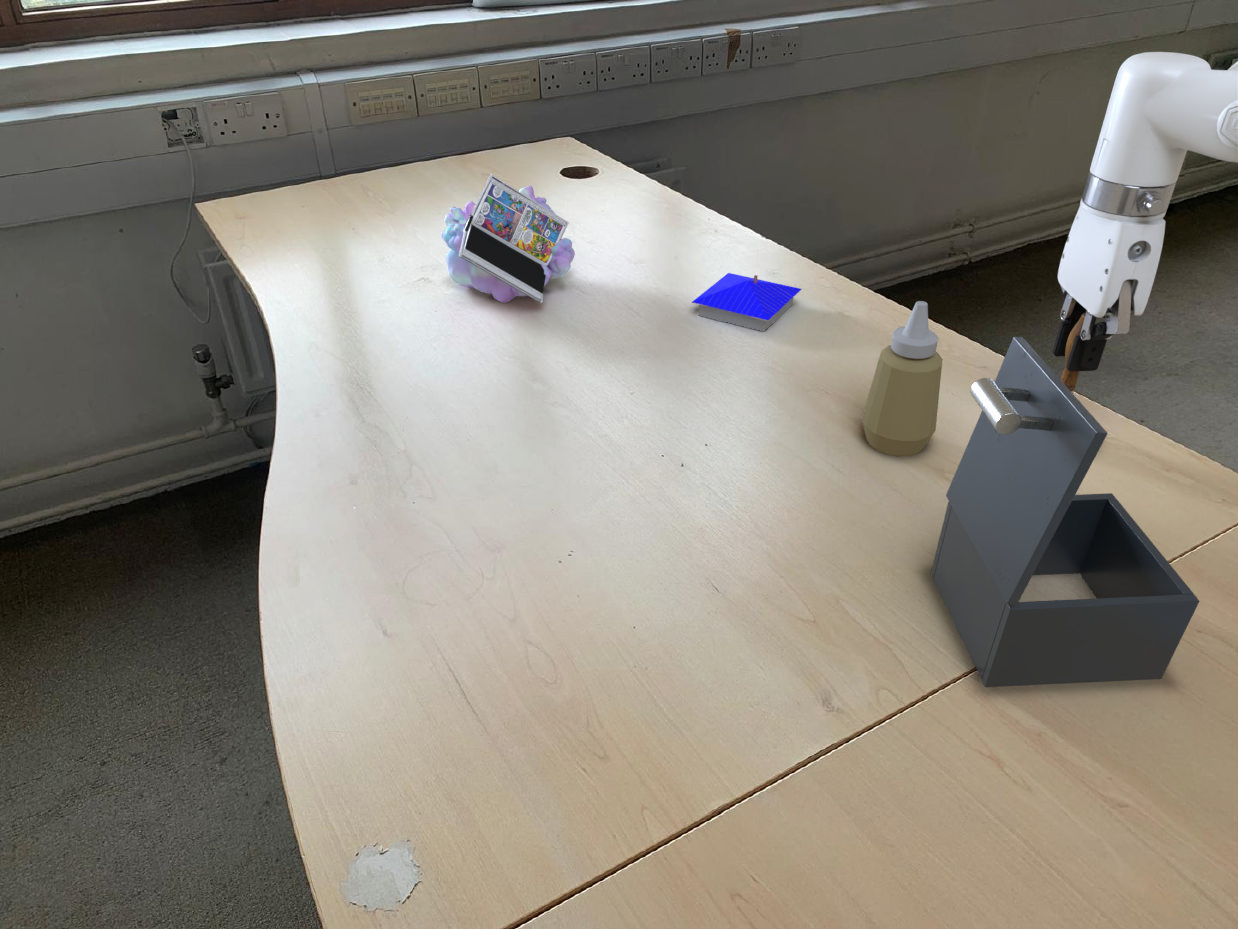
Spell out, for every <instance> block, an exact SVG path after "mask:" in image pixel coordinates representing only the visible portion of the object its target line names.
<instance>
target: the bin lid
mask: <svg viewBox="0 0 1238 929" xmlns="http://www.w3.org/2000/svg"><path fill="white" fill-rule="evenodd" d="M1006 351H1007V352H1006V353H1005V356H1004V358H1003V361H1002V363H1001V366H1000V368H999V370H998V372H997V375H996V377H995V379H994V380H993V379H991V378H989V377H982V378H979V379H977V380H975V381H974V382H973V384H972V385H971V387H970V395H971V396H972V398H973V399H974V400H975V402H976V403H977V405H978V406H979V408H980V409H981V412H980V414H979V417H978V419H977V421H976V424H975V426H974V428H973V431H972V434H971V435H970V438H969V440H968V442H967V445H966V447H965V449H964V452H963V454H962V457H961V459H960V461H959V464H958V466H957V468H956V471H955V473H954V475H953V477H952V479H951V483H950V485H949V487H948V489H947V491H946V494H945V497H946V498H947V500H948V502H950V504H951V505H952V507H953V509H954V511H955V512H956V514H957V516H958V518H959V520H960V521H961V523H962V525H963V527H964V528H965V530H966V532H967V534H968V536H969V537H970V539H971V541H972V543H973V544H974V546H975V548H976V550H977V552H978V553H979V555H980V557H981V559H982V560H983V562H984V564H985V566H986V567H987V569H988V571H989V573H990V575H991V576H992V578H993V580H994V582H995V583H996V585H997V587H998V589H999V591H1000V592H1001V594H1002V596H1003V598H1004V599H1005V601H1006V603H1007V604H1009V605H1017V603H1018V602H1020V600H1021V598H1022V596H1023V594H1024V593H1025V590H1026V588H1027V587H1028V585H1029V583H1030V581H1031V579H1032V578H1033V576H1034V575H1033V573H1034V571H1035V570H1036V568H1037V566H1038V564H1039V562H1040V560H1041V558H1042V556H1043V555H1044V553H1045V551H1046V549H1047V547H1048V545H1049V543H1050V541H1051V539H1052V538H1053V536H1054V534H1055V532H1056V530H1057V528H1058V526H1059V524H1060V523H1061V521H1062V519H1063V517H1064V515H1065V513H1066V511H1067V509H1068V507H1069V506H1070V504H1071V502H1072V500H1073V498H1074V496H1075V495H1077V492H1078V490H1079V489H1080V487H1081V485H1082V483H1083V482H1084V480H1085V477H1086V476H1087V474H1088V472H1089V470H1090V468H1091V466H1092V464H1093V462H1094V461H1095V459H1096V457H1097V455H1098V453H1099V451H1100V449H1101V447H1102V446H1103V443H1104V441H1105V440H1106V438H1107V436H1108V432H1107V431H1106V430H1105V428H1104V427H1103V426H1102V425H1101V424H1100V423H1099V421H1097V419H1096V418H1095V417H1094V416H1093V415H1092V414H1091V413H1090V411H1089V410H1088V409H1087V408H1086V407H1085V406H1084V405H1083V403H1082V402H1081V403H1082V404H1081V403H1080V401H1081V400H1080V399H1079V398H1078V397H1077V396H1076V395H1074V393H1073V394H1072V392H1071V391H1070V390H1069V389H1068V388H1067V387H1066V386H1065V385H1064V383H1063V382H1062V381H1061V380H1060V379H1061V378H1060V377H1059V376H1058V375H1057V374H1056V373H1055V372H1054V371H1053V370H1052V368H1050V366H1049V365H1048V364H1047V363H1046V362H1045V361H1044V360H1043V359H1042V357H1040V355H1039V354H1038V353H1037V352H1036V351H1035V349H1034V348H1033V347H1032V346H1031V345H1030V344H1029V343H1028V342H1027V340H1026V339H1025V338H1024V337H1021V336H1013V337H1012V340H1011V342H1010V345H1009V347H1008V349H1007V350H1006ZM1078 399H1079V400H1080V401H1079V400H1078Z"/></svg>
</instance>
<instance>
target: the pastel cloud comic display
mask: <svg viewBox="0 0 1238 929" xmlns="http://www.w3.org/2000/svg"><path fill="white" fill-rule="evenodd" d="M449 210H450V213H447V214H445V216H444V219H443V220H444V221H443V222H444V224H445V225H446V226H447V227H446V229H445V230H442V231H441V233H440V237H441V239H442V240H443V241H444V242H445V244H446V245H447V247H448V248H449V249H450V250H448V252H447V253H446V255H445V261H446V266H447V274H448V276H449V277H450V279H451V280H452V281H453V282H454V283H455V284H456V285H459V286H461V287H465V288H470V289H472V288H473V289H475V290H477V291H478V292H481V293H484V294H488V295H492V297H493V299H495V300H496V301H498V302H500V303H502V304H504V303H509V302H510V301H512V300H513V299H515V297H517V296H518V297H529V298H531V299H533V300H535V301H536V302H538V303H540V304H543V300H544V299H543V298H544V290H545V287H546V286H547V284H548V283H549V281H550V279H555V278H556V279H557V278H562V277H563V276H565V274H566V273H567V272H569V271H570V269H571V266H572V265H571V263H572V262H573V260H574V258H575V255H576V253H575V252H576V251H575V250H574V248H573V241H572V240H571V239H570V238H567V237H563V236H564V234H565V232H566V230H567V228H568V226H569V224H570V222H569V221H567V220H566V219H564V218H562V217H561V216H560V215H557V214H556V213H555V211H554V210H553V209H552V208H551V207H550V205H549V204H548V203H547V198H545V197H543V196H542V197H540V196H535V191H534V187H533V185H527V186H523V187H521V188H520V189H519V190H518V189H516V188H514V187H513V186H511V185H509V184H508V183H507V182H505V181H503V180H501V179H500V178H498V177H497V176H496V175H493V174H492V173H490V175H489V176H488V179H487V181H486V182H485V185H484V187H483V189H482V191H481V192H480V195H479V197H478V199H477V201H476V203H475V202H474V201H473V200H469V201H468V202H467V203H466V204H465V207H464V209H462V208H461V207H456V206H452V207H451V208H449Z"/></svg>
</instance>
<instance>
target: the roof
mask: <svg viewBox="0 0 1238 929" xmlns="http://www.w3.org/2000/svg"><path fill="white" fill-rule="evenodd" d="M802 289H803V288H800V287H796V286H790V285H786V284H781V283H778V282H773V281H769V280H768V281H767V280H764V279H759V278H758V275H756V274H755V275H754V276H753V277H749V276H746V275H742V274H741V275H739V274H735V273H732V272H728V273H726V274H725V275H724V276H722V277H721V278H720V279H719V280H717V281H716V282H715V283H714V284H712V285H711V286H710V287H708V289H706V290H705V291H703V293H701V294H700V295H698V296H697V297H696V298H695V299H693V301H691V304H696V305H698V316H699V315H700V316H699V317H701V316H704V317H703V318H705V317H708V318H707V319H709V318H712V319H711V320H713V319H716V320H715V321H718V320H720V321H719V322H722V321H724V322H723V323H726V322H728V323H727V324H730V323H732V324H731V325H734V324H736V325H735V326H738V325H740V326H739V327H742V326H744V327H743V328H746V327H748V328H747V329H750V328H752V329H751V330H754V329H756V330H755V331H758V330H760V331H759V332H762V331H765V330H766V329H767V328H768V327H769V326H770V325H771V324H772V323H773V322H774V321H775V322H776V321H777V320H778V319H779V318H781V316H782V315H783V314H785V313H786V311H788V310H789V309H790V308H791V307H792V306H793V305H794V297H796V296H797V295H798V294H799V293H800V292H801V291H802ZM792 304H793V305H792ZM791 305H792V306H791ZM790 306H791V307H790ZM789 307H790V308H789ZM775 322H774V323H775ZM774 323H773V324H774ZM773 324H772V325H773ZM772 325H771V326H772ZM771 326H770V327H771ZM770 327H769V328H770ZM769 328H768V329H769ZM768 329H767V330H768ZM767 330H766V331H767ZM766 331H765V332H766Z"/></svg>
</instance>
